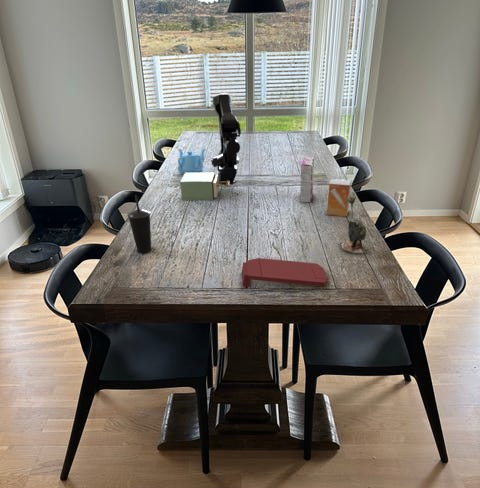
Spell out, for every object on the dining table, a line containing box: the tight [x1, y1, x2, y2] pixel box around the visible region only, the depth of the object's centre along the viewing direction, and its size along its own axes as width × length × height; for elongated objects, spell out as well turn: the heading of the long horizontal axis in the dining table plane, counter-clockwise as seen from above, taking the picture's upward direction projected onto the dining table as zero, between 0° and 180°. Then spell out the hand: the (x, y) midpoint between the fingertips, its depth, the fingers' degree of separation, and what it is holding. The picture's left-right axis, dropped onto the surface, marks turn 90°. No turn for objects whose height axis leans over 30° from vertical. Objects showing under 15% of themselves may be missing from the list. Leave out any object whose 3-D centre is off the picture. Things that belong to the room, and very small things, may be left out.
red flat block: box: [240, 257, 328, 288], centre depth 138 cm, size 12×5×25 cm
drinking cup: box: [126, 194, 152, 254], centre depth 153 cm, size 8×8×20 cm
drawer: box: [212, 174, 231, 198], centre depth 204 cm, size 18×12×7 cm, turn 87°
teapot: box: [176, 148, 206, 174], centre depth 238 cm, size 15×15×10 cm
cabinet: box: [179, 171, 216, 201], centre depth 205 cm, size 14×13×8 cm
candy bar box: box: [299, 157, 315, 203], centre depth 195 cm, size 11×5×16 cm, turn 168°
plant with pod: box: [339, 191, 367, 255], centre depth 149 cm, size 8×11×20 cm
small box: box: [326, 178, 353, 217], centre depth 180 cm, size 8×6×13 cm
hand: (231, 184), depth 203 cm, fingers closed
